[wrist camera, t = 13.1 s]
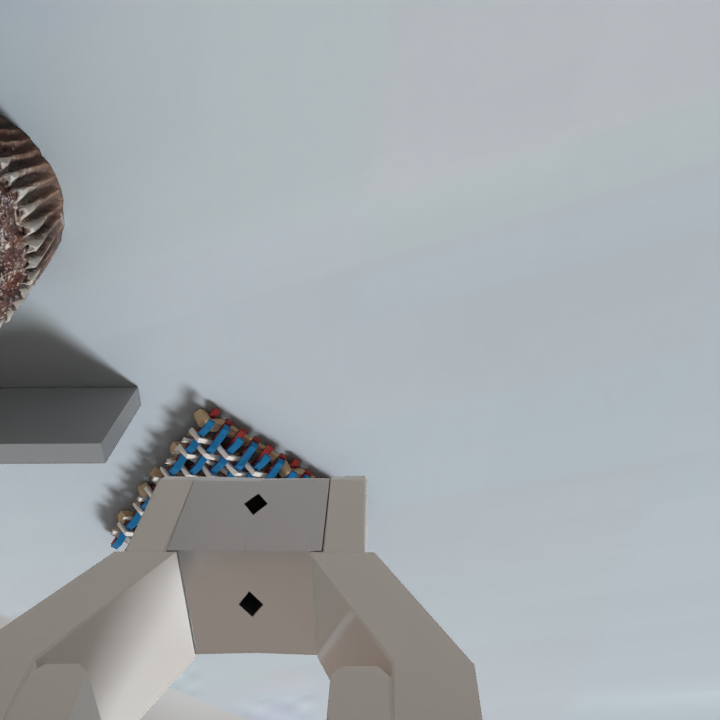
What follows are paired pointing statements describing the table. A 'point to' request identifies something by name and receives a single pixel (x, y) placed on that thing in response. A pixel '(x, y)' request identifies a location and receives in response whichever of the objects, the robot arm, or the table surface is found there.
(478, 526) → the table surface
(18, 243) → the cupcake
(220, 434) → the woven mat
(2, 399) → the box
